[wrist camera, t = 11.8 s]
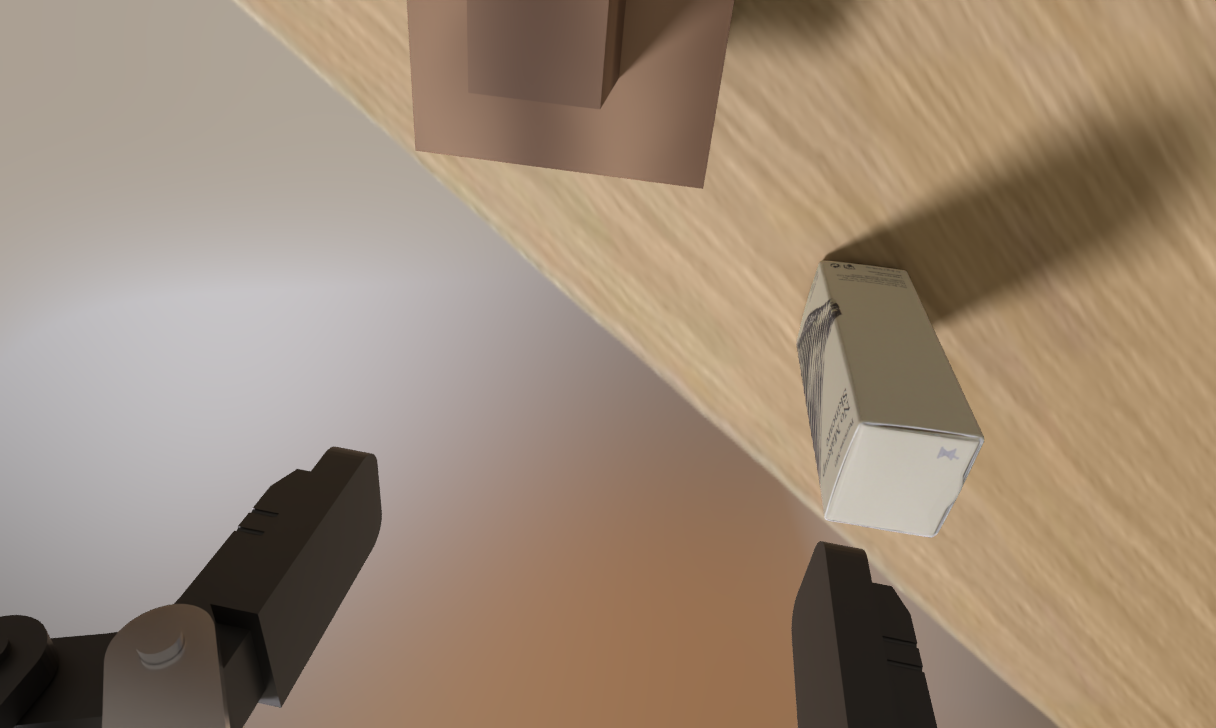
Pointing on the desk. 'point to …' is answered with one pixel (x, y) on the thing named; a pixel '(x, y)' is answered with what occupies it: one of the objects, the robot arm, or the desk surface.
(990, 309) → the desk surface
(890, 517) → the box
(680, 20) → the lid
